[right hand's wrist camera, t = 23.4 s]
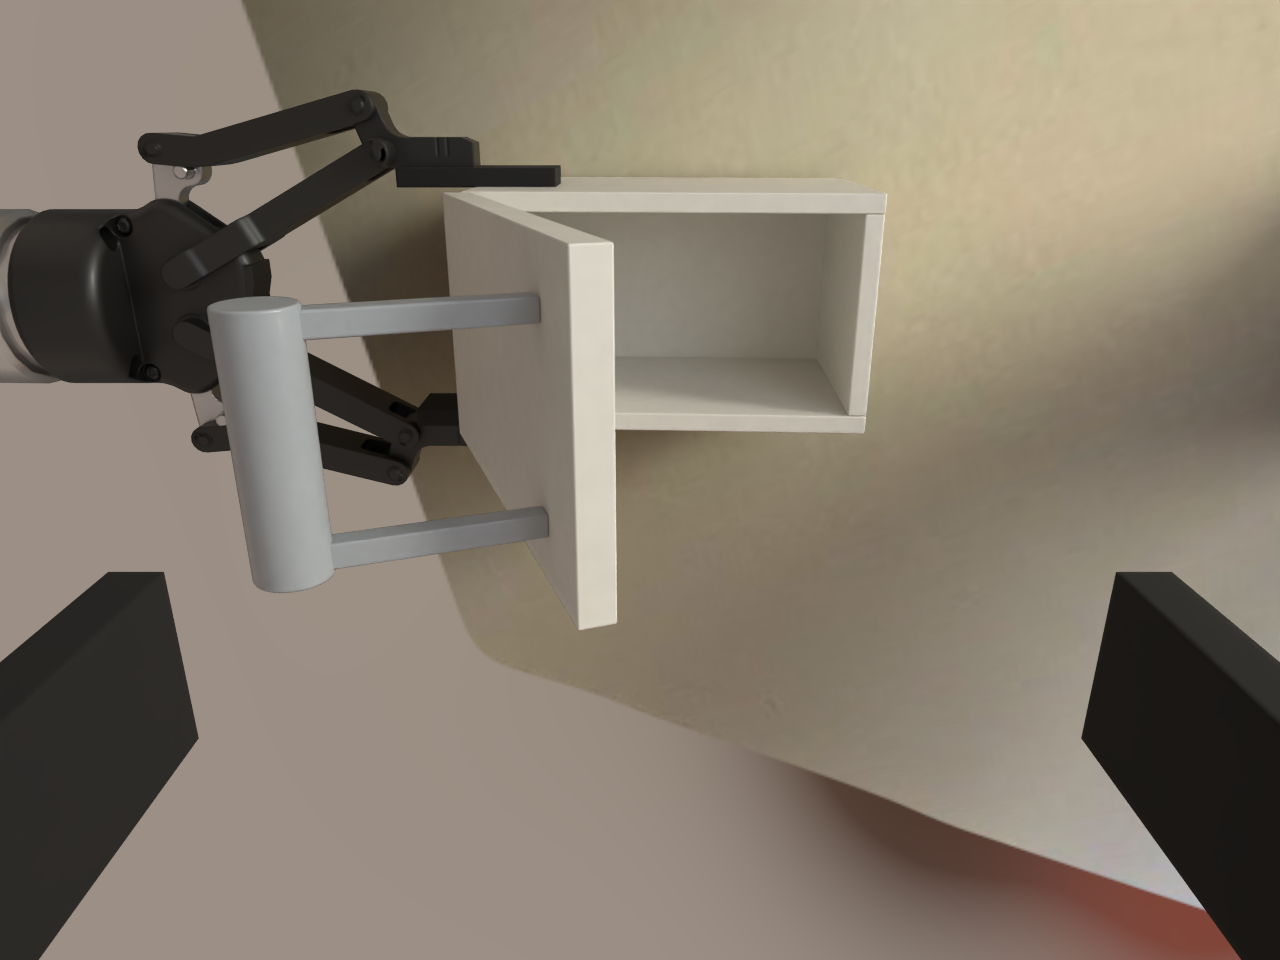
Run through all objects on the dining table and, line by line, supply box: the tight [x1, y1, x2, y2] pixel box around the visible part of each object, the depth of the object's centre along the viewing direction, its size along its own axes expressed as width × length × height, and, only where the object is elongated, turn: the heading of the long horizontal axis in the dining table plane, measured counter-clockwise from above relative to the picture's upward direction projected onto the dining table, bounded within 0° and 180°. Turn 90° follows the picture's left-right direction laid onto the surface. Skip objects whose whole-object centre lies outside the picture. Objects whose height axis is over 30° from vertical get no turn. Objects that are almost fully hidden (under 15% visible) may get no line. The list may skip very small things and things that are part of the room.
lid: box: [207, 192, 617, 630], centre depth 28 cm, size 17×10×8 cm
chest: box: [461, 177, 887, 434], centre depth 41 cm, size 16×10×11 cm, turn 90°
